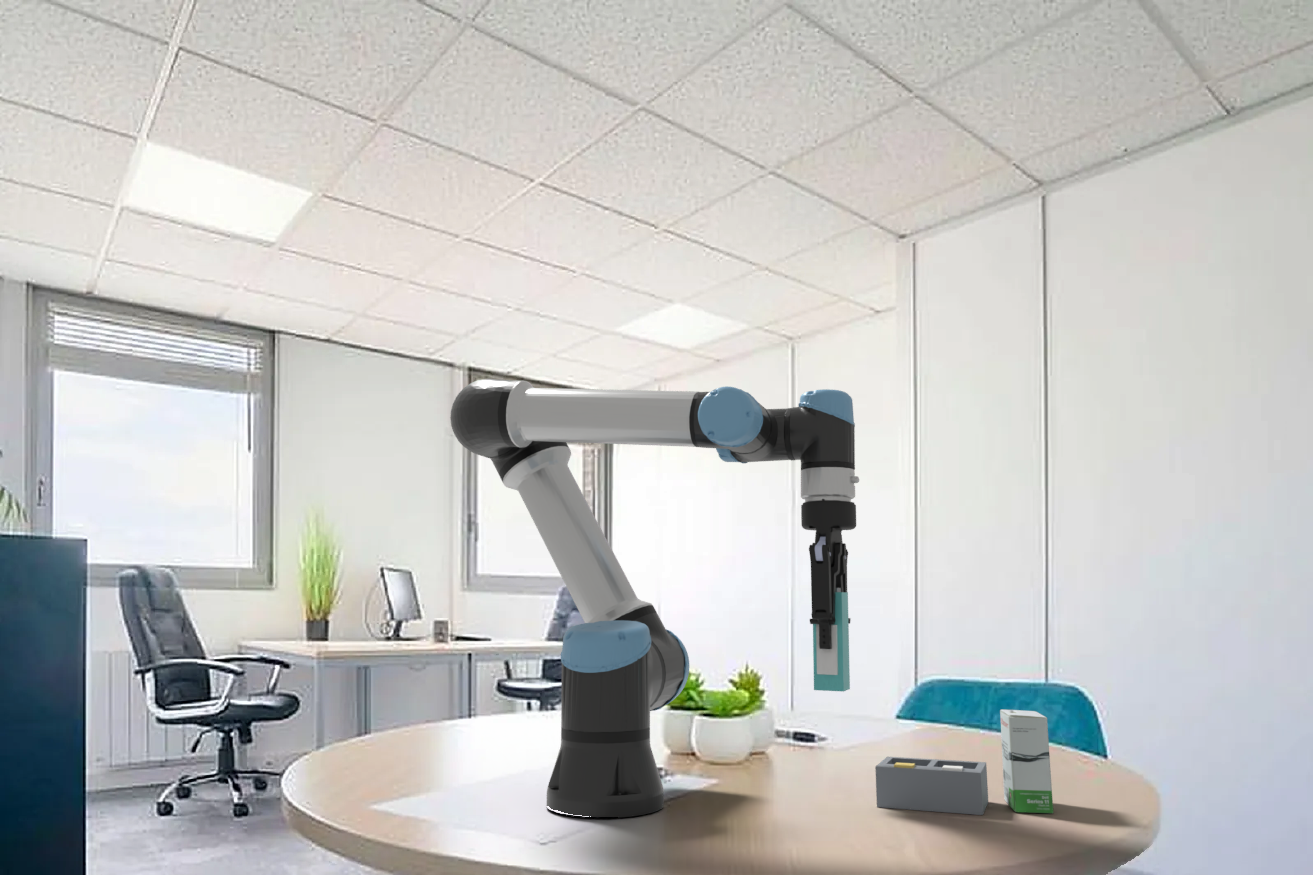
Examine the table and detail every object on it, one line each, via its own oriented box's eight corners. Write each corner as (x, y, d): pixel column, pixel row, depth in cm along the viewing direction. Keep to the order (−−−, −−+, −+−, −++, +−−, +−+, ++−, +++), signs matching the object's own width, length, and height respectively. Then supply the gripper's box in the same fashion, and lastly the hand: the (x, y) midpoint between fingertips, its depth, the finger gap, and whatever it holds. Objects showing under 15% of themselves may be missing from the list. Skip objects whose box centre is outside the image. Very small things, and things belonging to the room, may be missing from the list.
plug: (813, 690, 132) (812, 587, 134) (820, 687, 135) (819, 587, 138) (843, 691, 130) (841, 587, 132) (849, 689, 134) (847, 588, 136)
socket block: (876, 807, 126) (875, 764, 127) (888, 794, 135) (887, 754, 136) (982, 815, 122) (980, 770, 122) (988, 801, 130) (986, 759, 131)
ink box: (1055, 815, 122) (1048, 715, 124) (1013, 813, 123) (1007, 715, 125) (1042, 801, 130) (1036, 708, 132) (1003, 799, 131) (998, 708, 133)
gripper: (842, 494, 128) (845, 678, 124) (867, 505, 143) (870, 670, 140) (785, 495, 131) (787, 676, 127) (816, 507, 146) (818, 668, 142)
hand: (831, 672), depth 133 cm, fingers closed on plug, 4 cm apart
